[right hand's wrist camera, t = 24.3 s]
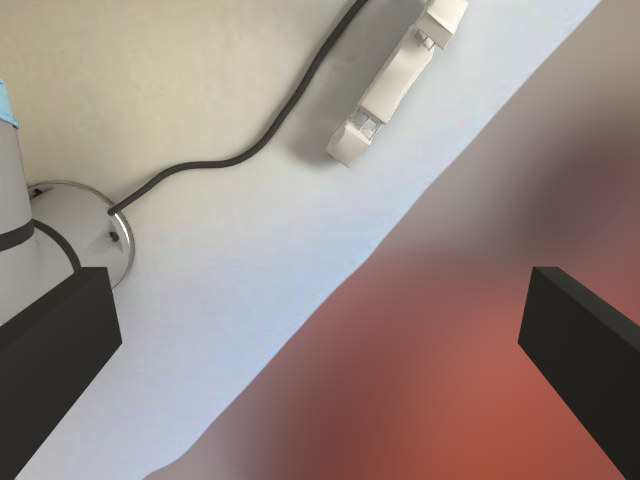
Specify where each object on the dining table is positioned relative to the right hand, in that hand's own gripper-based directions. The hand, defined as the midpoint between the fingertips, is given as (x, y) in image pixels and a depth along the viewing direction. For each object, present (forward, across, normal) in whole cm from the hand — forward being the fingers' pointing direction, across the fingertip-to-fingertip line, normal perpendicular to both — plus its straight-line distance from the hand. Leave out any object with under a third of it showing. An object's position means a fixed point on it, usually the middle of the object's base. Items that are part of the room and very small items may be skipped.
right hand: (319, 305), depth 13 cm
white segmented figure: (+36, -8, -8) cm, 38 cm away
